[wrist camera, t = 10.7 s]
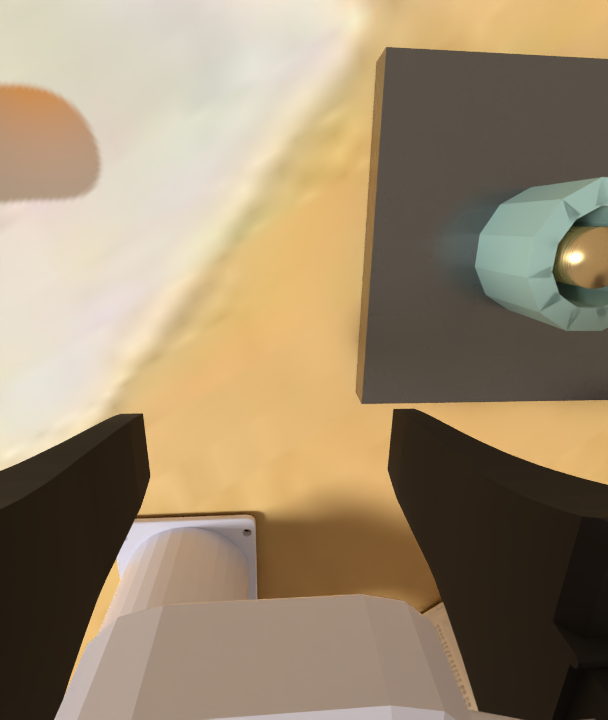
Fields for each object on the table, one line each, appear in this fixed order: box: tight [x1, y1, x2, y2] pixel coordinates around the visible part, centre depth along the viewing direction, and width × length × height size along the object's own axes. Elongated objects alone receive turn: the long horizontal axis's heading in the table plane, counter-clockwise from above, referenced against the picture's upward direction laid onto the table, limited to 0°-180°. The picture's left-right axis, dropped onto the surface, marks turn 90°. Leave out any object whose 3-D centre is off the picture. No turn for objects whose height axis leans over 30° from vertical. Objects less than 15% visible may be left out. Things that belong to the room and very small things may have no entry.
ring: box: [475, 177, 608, 331], centre depth 17 cm, size 5×5×4 cm
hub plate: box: [356, 47, 608, 404], centre depth 17 cm, size 15×15×6 cm
